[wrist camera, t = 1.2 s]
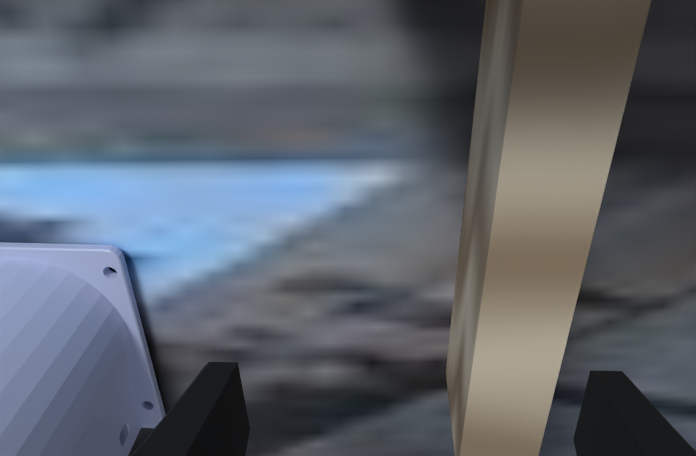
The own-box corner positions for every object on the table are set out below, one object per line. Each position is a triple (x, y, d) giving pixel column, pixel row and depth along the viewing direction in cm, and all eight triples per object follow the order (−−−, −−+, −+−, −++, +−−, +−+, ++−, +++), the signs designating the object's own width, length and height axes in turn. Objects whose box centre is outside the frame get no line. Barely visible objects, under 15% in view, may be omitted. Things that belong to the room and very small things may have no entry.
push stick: (507, 370, 23) (532, 479, 19) (445, 368, 23) (456, 474, 19) (591, -92, 15) (672, -84, 11) (494, -91, 15) (535, -82, 11)
